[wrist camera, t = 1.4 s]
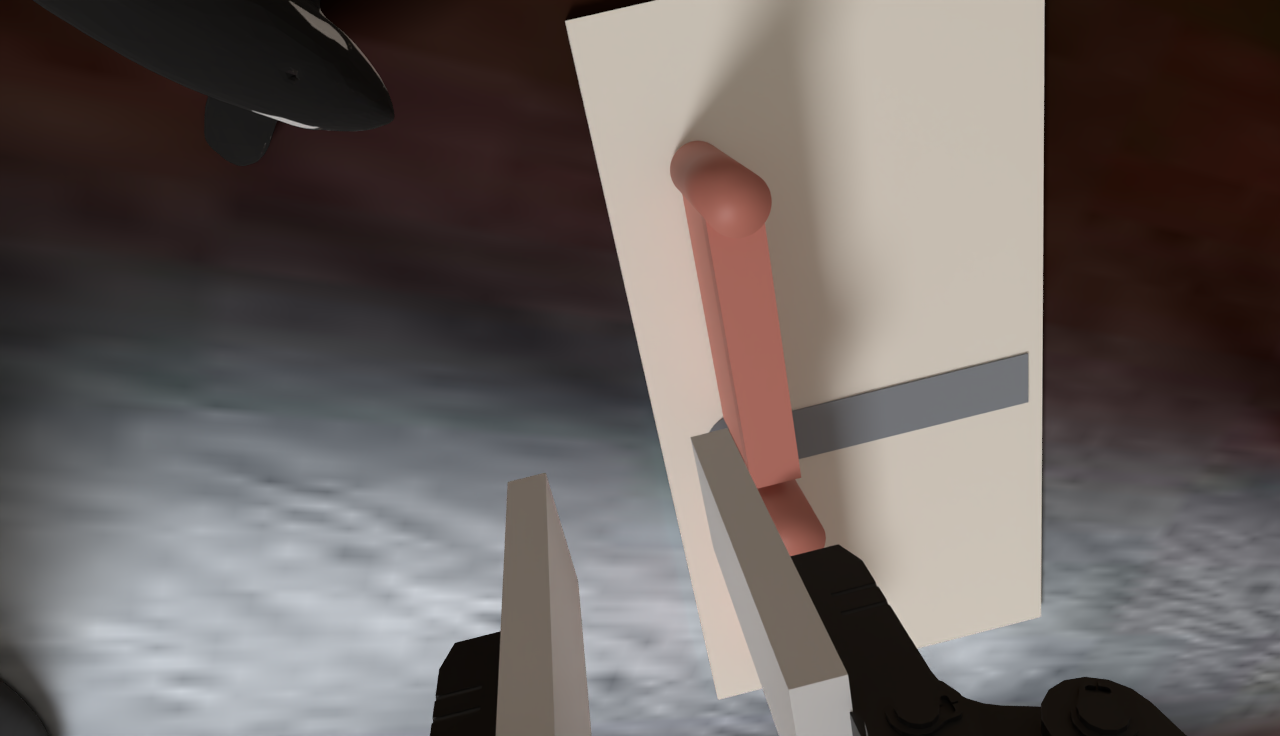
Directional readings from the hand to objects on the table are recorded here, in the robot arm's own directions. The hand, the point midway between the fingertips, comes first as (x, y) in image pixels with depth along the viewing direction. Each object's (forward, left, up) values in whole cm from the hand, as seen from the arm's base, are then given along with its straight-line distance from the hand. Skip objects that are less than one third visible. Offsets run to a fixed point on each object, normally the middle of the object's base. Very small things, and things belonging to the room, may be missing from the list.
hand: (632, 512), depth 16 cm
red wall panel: (+5, -2, -16) cm, 17 cm away
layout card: (+10, -7, -17) cm, 21 cm away
